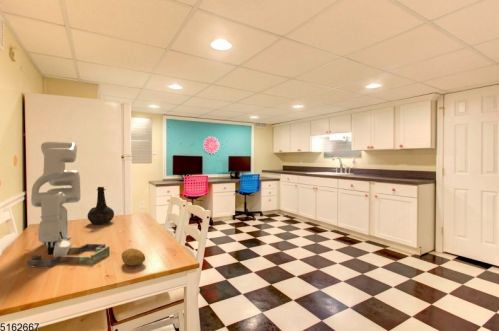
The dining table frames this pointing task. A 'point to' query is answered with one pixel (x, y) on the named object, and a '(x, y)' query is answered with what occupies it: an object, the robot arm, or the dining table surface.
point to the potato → (133, 257)
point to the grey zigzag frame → (100, 253)
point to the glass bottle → (100, 210)
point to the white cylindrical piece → (61, 248)
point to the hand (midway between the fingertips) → (51, 254)
